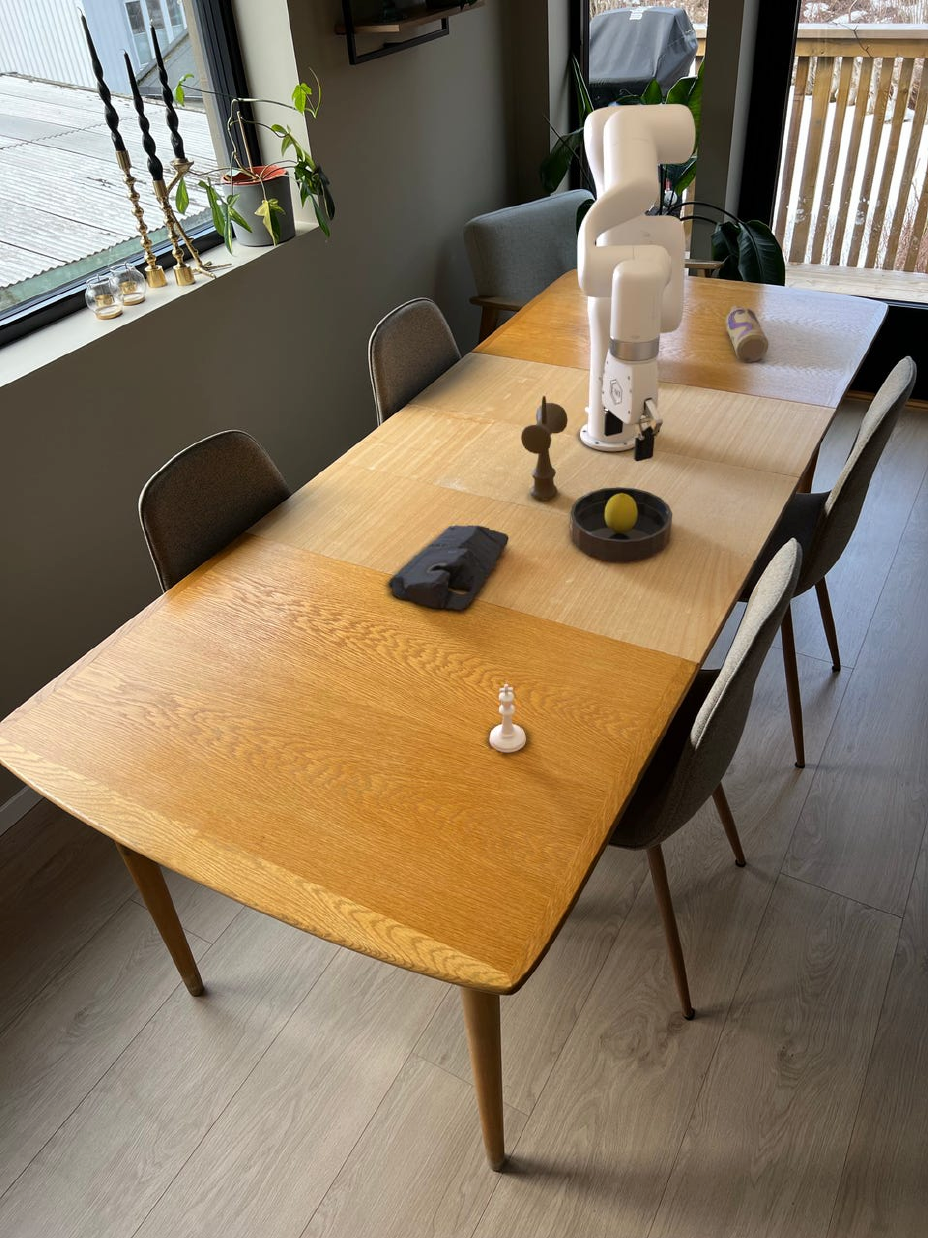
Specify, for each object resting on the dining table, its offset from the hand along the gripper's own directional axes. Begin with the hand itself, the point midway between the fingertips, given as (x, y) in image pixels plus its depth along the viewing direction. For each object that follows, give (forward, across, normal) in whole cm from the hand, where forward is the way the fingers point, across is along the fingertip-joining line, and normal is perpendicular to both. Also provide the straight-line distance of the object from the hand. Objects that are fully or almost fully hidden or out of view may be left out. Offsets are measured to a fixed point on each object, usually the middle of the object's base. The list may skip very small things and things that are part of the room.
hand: (628, 446), depth 159 cm
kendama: (+17, -18, -6) cm, 26 cm away
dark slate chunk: (+18, -3, -30) cm, 35 cm away
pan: (+17, 0, 0) cm, 17 cm away
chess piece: (+18, +37, -38) cm, 56 cm away
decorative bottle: (+16, -59, +67) cm, 91 cm away
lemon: (+17, 0, 0) cm, 17 cm away
